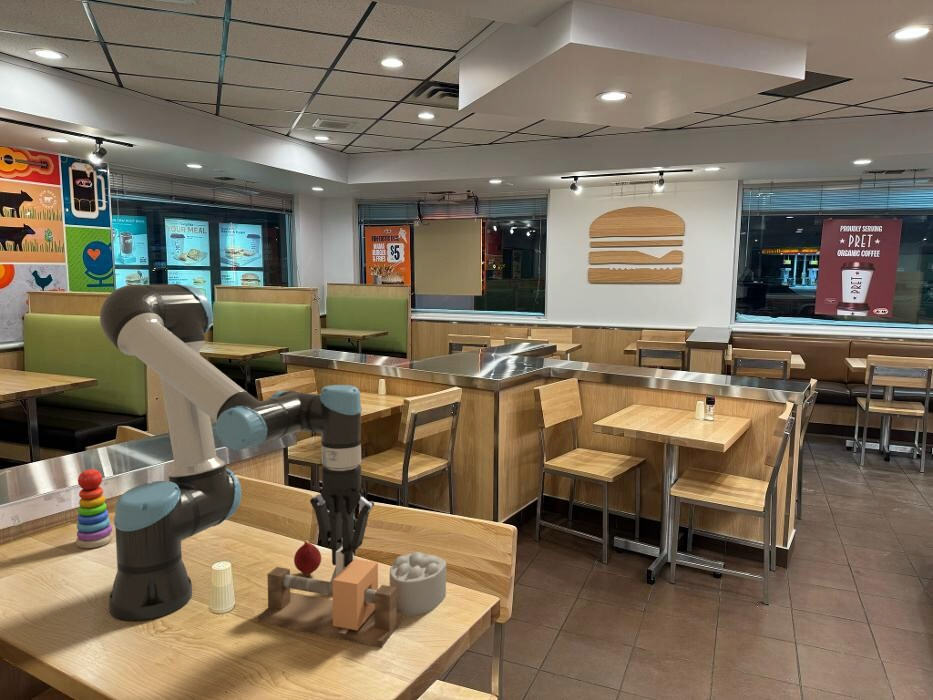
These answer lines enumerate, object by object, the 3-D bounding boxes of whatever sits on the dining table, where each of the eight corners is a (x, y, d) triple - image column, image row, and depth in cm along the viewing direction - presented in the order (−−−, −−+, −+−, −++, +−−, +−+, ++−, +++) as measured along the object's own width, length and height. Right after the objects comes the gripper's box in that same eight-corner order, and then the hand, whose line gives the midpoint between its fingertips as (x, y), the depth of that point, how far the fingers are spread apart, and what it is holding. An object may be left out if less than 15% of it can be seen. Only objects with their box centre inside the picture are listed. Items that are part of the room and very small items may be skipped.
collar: (332, 625, 115) (332, 579, 114) (354, 601, 124) (354, 558, 123) (357, 630, 114) (357, 584, 113) (377, 605, 123) (377, 562, 122)
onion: (323, 568, 142) (323, 535, 141) (318, 581, 136) (317, 546, 135) (297, 568, 142) (297, 535, 141) (291, 581, 136) (291, 546, 135)
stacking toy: (81, 537, 156) (77, 465, 154) (117, 534, 158) (113, 463, 156) (71, 551, 148) (67, 475, 146) (109, 547, 151) (105, 472, 148)
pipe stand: (257, 622, 120) (257, 582, 119) (286, 597, 129) (286, 559, 128) (382, 647, 112) (382, 604, 111) (403, 618, 122) (403, 579, 121)
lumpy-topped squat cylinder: (451, 592, 133) (452, 553, 132) (422, 622, 121) (422, 579, 120) (409, 581, 137) (409, 543, 136) (377, 609, 125) (377, 568, 124)
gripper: (301, 467, 119) (303, 584, 121) (363, 474, 115) (364, 595, 118) (321, 456, 126) (322, 567, 128) (380, 463, 122) (380, 577, 125)
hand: (342, 580), depth 123 cm, fingers closed
